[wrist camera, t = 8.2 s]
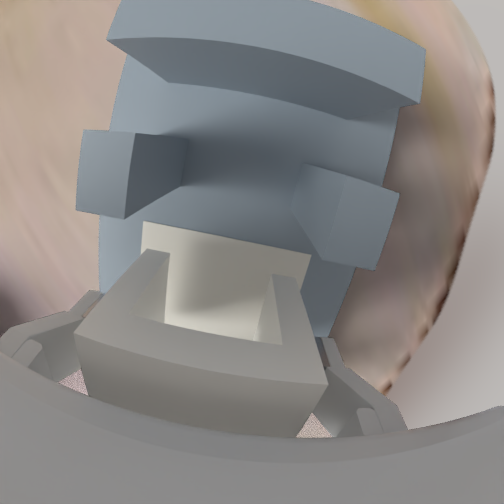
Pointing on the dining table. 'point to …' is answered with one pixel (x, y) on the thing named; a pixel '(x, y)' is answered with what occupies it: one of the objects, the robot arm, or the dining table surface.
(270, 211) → the block
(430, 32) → the dining table surface
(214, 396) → the bracket
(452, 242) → the dining table surface
